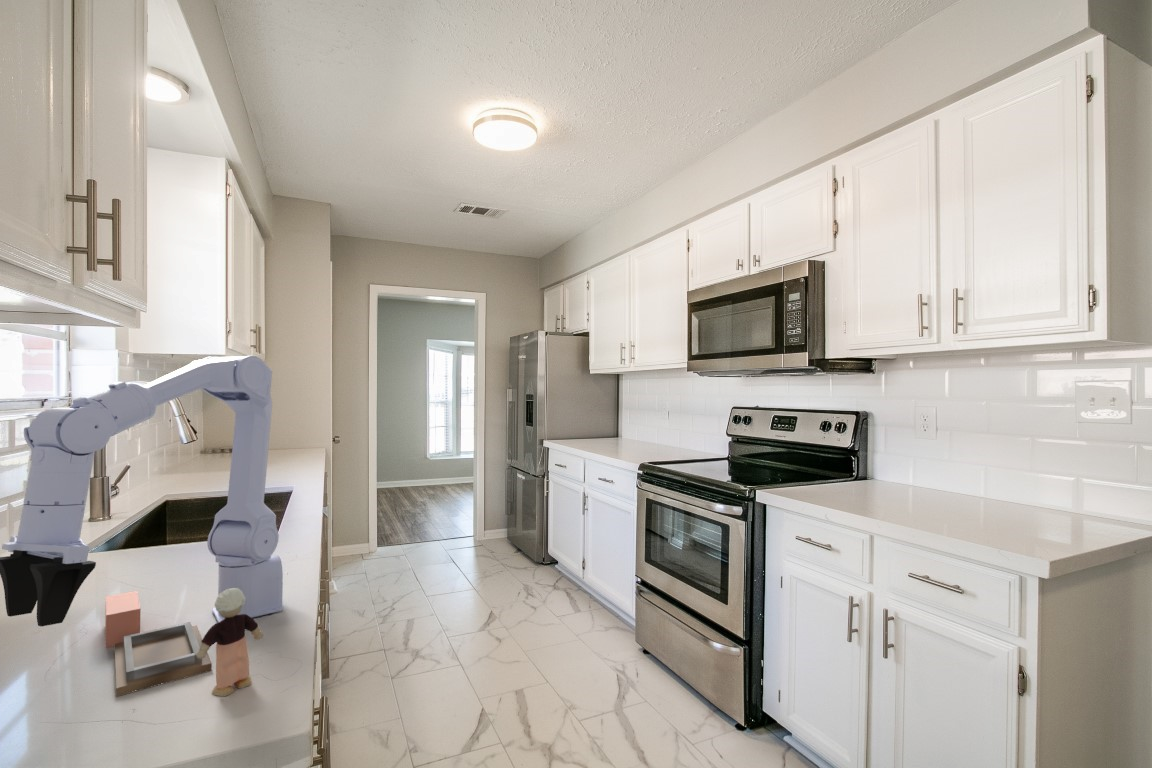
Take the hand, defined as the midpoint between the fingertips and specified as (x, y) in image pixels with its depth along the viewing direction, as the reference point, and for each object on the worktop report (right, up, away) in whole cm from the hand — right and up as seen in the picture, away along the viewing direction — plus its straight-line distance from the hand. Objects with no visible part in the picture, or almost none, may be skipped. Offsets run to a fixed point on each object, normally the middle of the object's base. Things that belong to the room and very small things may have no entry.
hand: (34, 619), depth 67 cm
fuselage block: (-6, -11, +20) cm, 24 cm away
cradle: (+7, -11, +12) cm, 17 cm away
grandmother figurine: (+21, -11, +4) cm, 24 cm away
